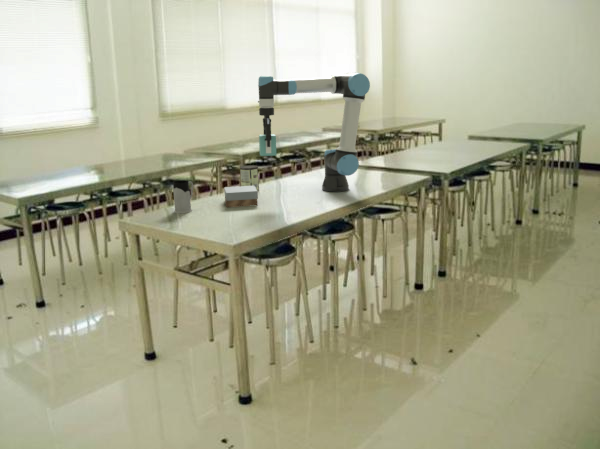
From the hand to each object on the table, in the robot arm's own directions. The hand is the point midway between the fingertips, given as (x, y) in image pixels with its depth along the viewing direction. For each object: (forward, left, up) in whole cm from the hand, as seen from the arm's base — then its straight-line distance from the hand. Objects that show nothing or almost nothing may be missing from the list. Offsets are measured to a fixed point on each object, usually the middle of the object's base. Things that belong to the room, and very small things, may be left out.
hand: (267, 152), depth 305 cm
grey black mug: (+29, +33, -26) cm, 51 cm away
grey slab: (+12, +10, -22) cm, 27 cm away
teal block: (0, 0, -1) cm, 1 cm away
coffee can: (+26, -21, -26) cm, 42 cm away
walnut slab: (+12, +9, -26) cm, 31 cm away
